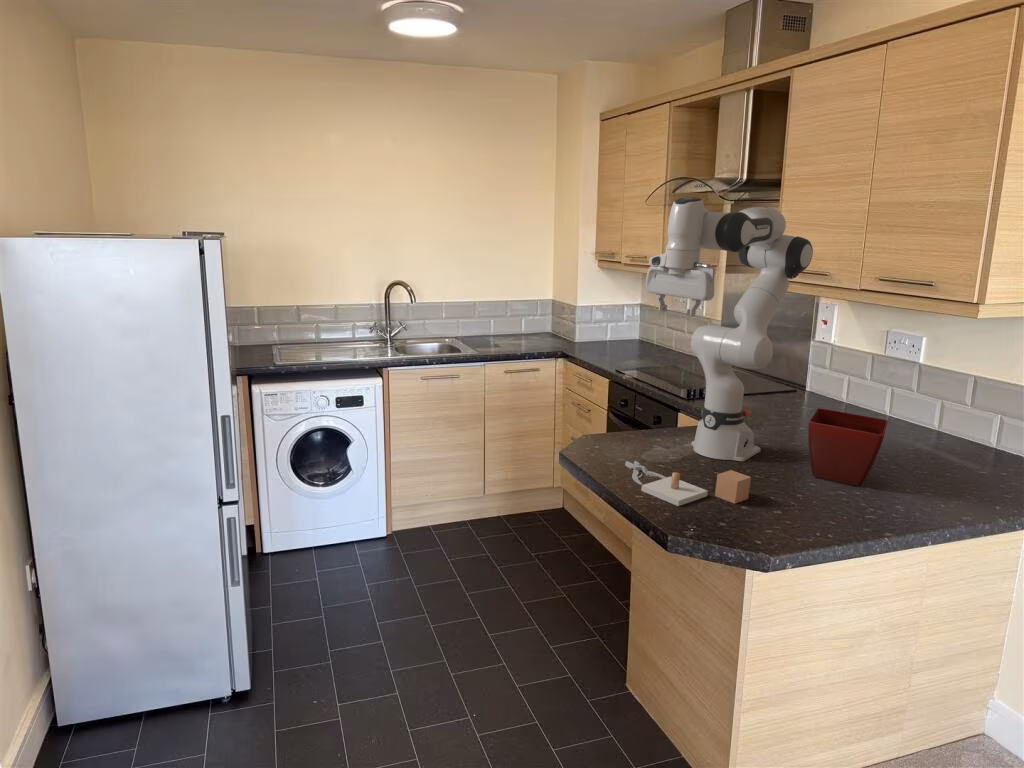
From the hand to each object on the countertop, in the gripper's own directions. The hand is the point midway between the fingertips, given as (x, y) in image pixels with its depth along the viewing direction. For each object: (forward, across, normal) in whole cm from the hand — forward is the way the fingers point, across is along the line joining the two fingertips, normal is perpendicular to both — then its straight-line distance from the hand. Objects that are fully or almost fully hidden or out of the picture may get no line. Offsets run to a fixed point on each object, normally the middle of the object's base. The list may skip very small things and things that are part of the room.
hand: (676, 313), depth 188 cm
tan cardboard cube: (+45, -22, -2) cm, 50 cm away
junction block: (+45, -12, +9) cm, 48 cm away
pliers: (+46, +2, +5) cm, 46 cm away
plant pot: (+46, -30, -44) cm, 70 cm away
